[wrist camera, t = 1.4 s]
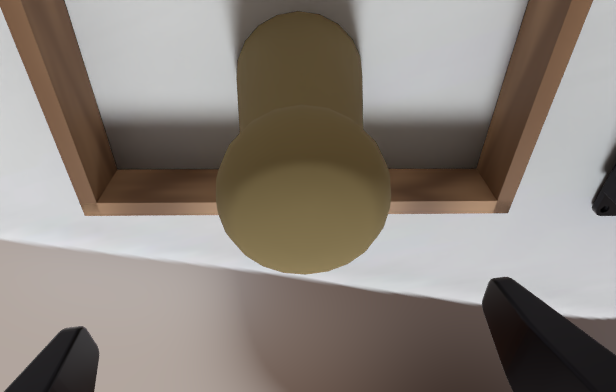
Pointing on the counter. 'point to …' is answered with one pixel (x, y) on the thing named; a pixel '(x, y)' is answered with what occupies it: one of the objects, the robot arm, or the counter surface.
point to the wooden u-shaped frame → (202, 182)
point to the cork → (302, 151)
